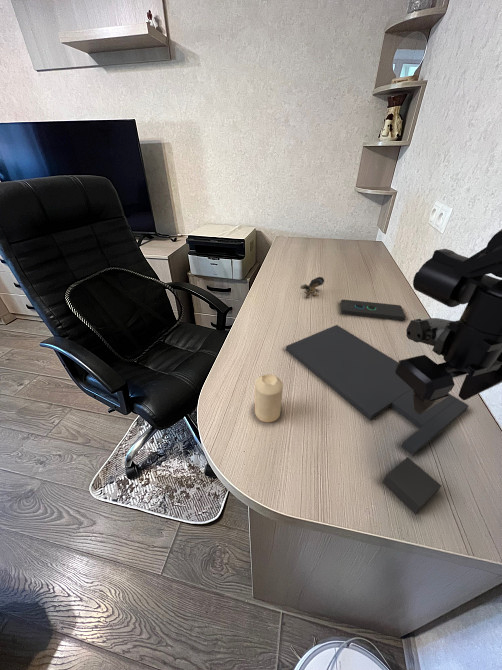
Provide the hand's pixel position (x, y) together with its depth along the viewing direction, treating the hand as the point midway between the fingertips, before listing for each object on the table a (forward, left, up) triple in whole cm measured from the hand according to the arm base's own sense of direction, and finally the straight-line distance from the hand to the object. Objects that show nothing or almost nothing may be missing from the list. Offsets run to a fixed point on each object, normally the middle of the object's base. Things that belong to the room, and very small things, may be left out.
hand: (440, 404), depth 45 cm
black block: (-3, +7, -13) cm, 15 cm away
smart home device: (+39, -37, -14) cm, 55 cm away
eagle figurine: (+60, -29, -14) cm, 68 cm away
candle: (+23, +18, -14) cm, 32 cm away
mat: (+19, -9, -13) cm, 25 cm away
